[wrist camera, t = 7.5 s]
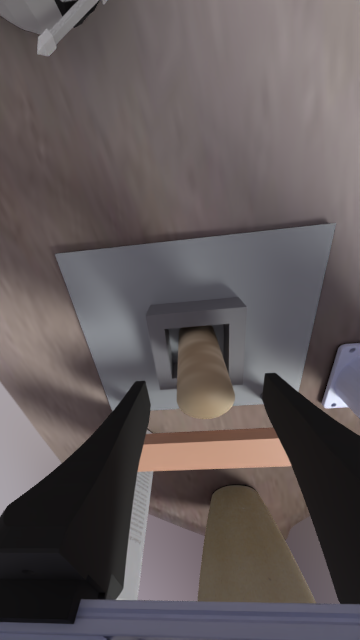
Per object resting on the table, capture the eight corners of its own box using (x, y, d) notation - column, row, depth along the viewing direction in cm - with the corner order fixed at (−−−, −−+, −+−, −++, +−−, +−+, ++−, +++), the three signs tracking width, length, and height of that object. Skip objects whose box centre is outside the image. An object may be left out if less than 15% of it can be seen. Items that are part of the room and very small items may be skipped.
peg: (216, 320, 16) (240, 378, 10) (212, 351, 17) (229, 420, 11) (179, 318, 16) (177, 375, 10) (177, 349, 17) (175, 417, 11)
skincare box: (100, 424, 23) (26, 597, 12) (125, 410, 22) (68, 586, 11) (135, 449, 25) (97, 616, 14) (159, 437, 24) (139, 609, 13)
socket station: (330, 223, 13) (449, 216, 7) (293, 397, 20) (338, 466, 14) (59, 253, 14) (-28, 268, 8) (114, 408, 22) (88, 475, 16)
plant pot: (219, 459, 26) (264, 753, 11) (303, 487, 28) (427, 753, 14) (171, 505, 31) (160, 738, 17) (244, 524, 34) (289, 740, 20)
